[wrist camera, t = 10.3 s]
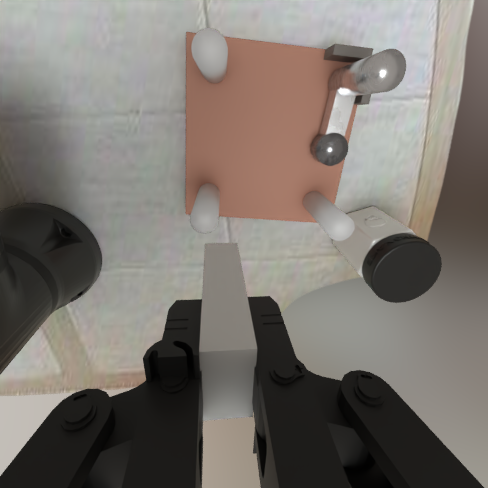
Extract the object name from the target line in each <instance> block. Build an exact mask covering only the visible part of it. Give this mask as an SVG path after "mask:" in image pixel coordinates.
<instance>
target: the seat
mask: <svg viewBox="0 0 488 488" xmlns="http://www.w3.org/2000/svg"><path fill="white" fill-rule="evenodd" d="M372 51H373V49H372V48H364V47H356V46H348V45H341V44H334V45H332V46H331V47H329V48H328V49H318V48H310V47H302V46H294V45H286V44H278V43H270V42H262V41H254V40H246V39H238V38H230V37H223V35H222V34H221V33H220V32H219V31H217V30H216V29H213V28H204V29H202V30H200V31H199V32H197V33H190V32H186V214H191V215H190V224H191V226H192V227H193V229H194V230H196V231H197V232H200V233H209V232H212V231H213V230H214V229H215V228H216V227H217V225H218V219H219V216H222V217H238V218H254V219H269V220H285V221H300V222H316V223H318V224H319V225H320V226H321V227H322V228H323V230H324V231H325V232H326V233H327V234H328V235H329V237H330V238H331V239H333V240H335V241H343V240H346V239H347V238H349V237H350V236H351V235H352V233H353V231H354V228H355V225H354V222H353V220H352V219H351V218H350V217H349V216H348V215H346V214H345V213H344V212H343V211H341V210H340V209H339V208H338V207H337V206H335V205H334V203H335V199H336V195H337V190H338V186H339V182H340V177H341V173H342V169H343V164H344V160H345V158H344V159H343V161H342V162H340V163H339V164H337V165H334V166H327V165H325V164H323V163H321V162H319V161H317V160H315V159H314V158H313V156H312V154H311V150H310V147H311V143H312V141H313V139H314V138H315V137H316V136H317V135H318V134H319V133H320V129H321V125H322V121H323V116H324V112H325V108H326V104H327V100H328V96H329V92H330V91H329V88H328V82H329V78H330V76H331V75H332V73H333V72H334V71H335V70H337V69H339V68H341V67H344V66H346V65H349V64H351V63H354V62H356V61H359V60H362V59H364V58H367V57H369V56H372ZM370 97H371V94H366V95H358V96H356V97H355V101H354V104H353V108H352V111H351V115H350V119H349V122H348V126H347V129H346V133H345V136H344V137H345V138H346V140H347V143H349V138H350V134H351V130H352V125H353V121H354V117H355V113H356V108H357V105H362V104H369V101H370Z"/></svg>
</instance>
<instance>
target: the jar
mask: <svg viewBox="0 0 488 488" xmlns="http://www.w3.org/2000/svg"><path fill="white" fill-rule="evenodd" d="M346 215H348V216H349V217H350V218H351V219H352V220H353V222H354V225H355V228H354V231H353V233H352V235H351V236H350V237H349V238H347V239H346V240H343V241H335V240H333V241H332V243H333V244H334V245H335V247H336V248H337V249H338V250H339V251H340V252H341V254H342V255H343V256H344V257H345V258H346V260H347V261H348V262H349V263H350V264H351V266H352V267H353V268H354V269H355V270H356V272H357V273H358V274H359V275H360V276H361V277H362V278H363V279H364V280H365V282H366V283H367V284H368V285H369V287H370V288H371V289H372V290H373V291H374V293H375V294H376V295H377V296H378V297H380V298H381V299H383V300H385V301H389V302H395V303H397V302H406V301H410V300H413V299H415V298H417V297H419V296H421V295H422V294H424V293H425V292H426V291H428V290H429V289H430V288H431V287H432V286H433V284H434V283H435V282H436V280H437V278H438V276H439V274H440V271H441V265H442V263H441V257H440V254H439V252H438V251H437V250H436V249H435V247H433V246H432V245H430V244H429V242H427V241H426V240H424V239H422V238H420V237H418V236H416V234H415V233H414V232H413V231H412V230H411V229H410V228H408V227H407V226H405V225H403V224H402V223H400V222H398V221H397V220H395V219H394V218H392V217H390V216H389V215H387V214H386V213H384V212H382V211H381V210H379V209H377V208H376V207H374V206H372V207H368V208H365V209H361V210H358V211H355V212H351V213H348V214H346Z"/></svg>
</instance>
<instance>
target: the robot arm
mask: <svg viewBox="0 0 488 488" xmlns="http://www.w3.org/2000/svg"><path fill="white" fill-rule="evenodd" d="M101 265H102V258H101V252H100V249H99V246H98V243H97V241H96V240H95V238H94V236H93V235H92V233H91V232H90V231H89V230H88V228H87V227H86V226H85V225H84V224H83V223H81V222H80V221H79V220H78V219H76V218H75V217H74V216H72V215H71V214H69V213H67V212H65V211H63V210H61V209H58V208H56V207H53V206H49V205H45V204H38V203H24V204H18V205H15V206H12V207H9V208H7V209H5V210H3V211H0V374H1V373H2V372H3V371H4V369H5V368H6V367H7V366H8V365H9V363H10V362H11V361H12V360H13V359H14V357H15V356H16V355H17V354H18V353H19V351H20V350H21V349H22V348H23V347H24V345H25V344H26V343H27V342H28V341H29V339H30V338H31V337H32V336H33V335H34V333H35V332H36V331H37V330H38V329H39V327H40V326H41V325H42V324H43V323H44V321H45V320H46V319H47V318H48V317H49V316H50V314H51V313H52V312H54V311H55V310H57V309H59V308H61V307H63V306H65V305H67V304H68V303H70V302H72V301H74V300H76V299H78V298H79V297H81V296H82V295H83V294H85V293H86V292H87V291H88V290H89V289H90V287H91V286H92V285H93V283H94V282H95V281H96V279H97V278H98V276H99V273H100V270H101ZM143 362H144V368H145V375H146V381H145V382H144V383H142V384H141V385H139V386H138V387H136V388H134V389H131V390H129V391H127V392H123V393H120V394H118V395H115V396H112V397H109V396H108V394H107V393H106V392H104V391H102V390H99V389H85V390H82V391H79V392H76V393H74V394H72V395H71V396H69V397H67V398H66V399H64V400H62V402H60V403H59V405H58V406H56V407H55V408H54V409H53V410H52V412H51V413H50V414H49V415H48V417H47V418H46V419H45V420H44V422H43V423H42V424H41V426H40V427H39V428H38V429H37V431H36V432H35V433H34V434H33V436H32V437H31V438H30V439H29V441H28V442H27V443H26V444H25V446H24V447H23V448H22V449H21V451H20V452H19V453H18V455H17V456H16V457H15V458H14V460H13V461H12V462H11V463H10V465H9V466H8V467H7V468H6V470H5V471H4V472H3V474H2V475H1V476H0V488H202V459H203V434H202V429H203V421H205V420H217V419H231V418H243V417H252V416H253V412H254V418H255V436H254V448H253V453H257V461H258V469H259V477H260V484H261V488H484V487H483V486H482V485H481V484H480V483H479V482H478V480H476V478H475V477H474V476H473V475H472V474H471V473H470V472H469V471H468V470H467V469H466V467H465V466H464V465H463V464H462V463H461V462H460V461H459V460H458V459H457V458H456V457H455V456H454V455H453V453H452V452H451V451H450V450H449V449H448V448H447V447H446V446H445V445H444V444H443V443H442V442H441V441H440V440H439V438H437V436H436V435H435V434H434V433H433V432H432V431H431V430H430V429H429V428H428V426H427V425H426V424H425V423H424V422H423V421H422V420H421V419H420V418H419V417H418V416H417V415H416V413H415V412H414V411H413V410H412V409H411V408H410V407H409V406H408V405H407V404H406V403H405V402H404V401H403V399H402V398H401V397H400V396H399V395H398V394H397V393H396V392H395V391H394V390H393V389H392V388H391V387H390V386H389V384H387V383H386V382H385V381H384V380H383V379H381V378H380V377H378V376H376V375H374V374H372V373H370V372H366V371H361V370H357V371H351V372H349V373H347V374H345V375H344V377H343V379H342V381H340V380H335V379H331V378H326V377H322V376H319V375H316V374H314V373H312V372H310V371H308V370H307V369H306V367H305V366H304V364H303V363H301V362H300V361H299V360H298V359H297V358H296V356H295V353H294V350H293V347H292V344H291V341H290V338H289V336H288V333H287V330H286V327H285V324H284V321H283V318H282V316H281V312H280V309H279V306H278V304H277V303H276V302H275V301H274V300H273V299H272V298H271V297H270V296H263V297H247V292H246V287H245V281H244V276H243V271H242V266H241V260H240V255H239V250H238V245H237V243H207V244H205V255H204V273H203V291H202V299H201V300H176V302H175V303H174V304H173V305H172V306H171V307H170V309H169V311H168V315H167V322H166V325H165V331H164V334H163V338H162V340H161V341H159V342H157V343H155V344H154V345H152V346H151V347H150V348H149V349H148V350H147V352H146V353H145V355H144V357H143Z"/></svg>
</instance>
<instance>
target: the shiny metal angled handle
mask: <svg viewBox="0 0 488 488" xmlns="http://www.w3.org/2000/svg"><path fill="white" fill-rule="evenodd" d="M405 71H406V61H405V58H404V56H403V54H402V53H401V52H400V51H398V50H396V49H387V50H384V51H382V52H379V53H377V54H374V55H372V56H369V57H367V58H364V59H362V60H359V61H356V62H354V63H351V64H349V65H346V66H344V67H341V68H339V69H337V70H335V71H334V72H333V73H332V75H331V76H330V78H329V82H328V88H329V91H330V92H329V96H328V100H327V104H326V108H325V112H324V116H323V121H322V125H321V129H320V133H319V134H318V135H317V136H316V137H315V138H314V139H313V141H312V143H311V147H310V150H311V154H312V156H313V158H314V159H315V160H317V161H319V162H321V163H323V164H325V165H327V166H334V165H337V164H339V163H340V162H342V161H343V159H344V158H345V157H346V155H347V152H348V143H347V140H346V138H345V137H344V136H345V133H346V129H347V126H348V122H349V119H350V115H351V111H352V108H353V104H354V101H355V97H356V96H358V95H366V94H373V93H380V92H387V91H390V90H392V89H394V88H395V87H397V86H398V85H399V83H400V82H401V81H402V79H403V77H404V75H405Z"/></svg>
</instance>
